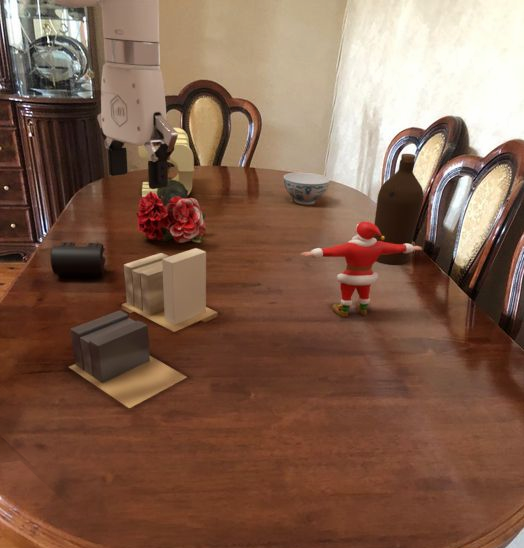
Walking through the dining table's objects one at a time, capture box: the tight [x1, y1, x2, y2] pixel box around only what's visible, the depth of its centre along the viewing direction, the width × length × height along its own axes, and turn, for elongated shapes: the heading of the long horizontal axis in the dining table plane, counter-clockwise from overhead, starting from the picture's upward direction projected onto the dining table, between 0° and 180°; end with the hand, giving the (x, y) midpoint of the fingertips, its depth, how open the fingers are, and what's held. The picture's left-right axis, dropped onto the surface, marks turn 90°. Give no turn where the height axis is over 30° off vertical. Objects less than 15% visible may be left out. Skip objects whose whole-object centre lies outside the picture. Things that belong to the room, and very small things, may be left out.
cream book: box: [162, 247, 207, 325], centre depth 95 cm, size 3×8×12 cm, turn 140°
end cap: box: [50, 241, 107, 278], centre depth 111 cm, size 10×7×7 cm
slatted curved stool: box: [137, 127, 195, 198], centre depth 169 cm, size 30×16×18 cm, turn 10°
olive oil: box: [373, 153, 424, 265], centre depth 127 cm, size 11×11×25 cm
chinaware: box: [283, 172, 331, 206], centre depth 172 cm, size 15×15×8 cm
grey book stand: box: [68, 310, 188, 409], centre depth 80 cm, size 15×11×8 cm
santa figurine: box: [300, 221, 423, 318], centre depth 100 cm, size 25×6×19 cm, turn 107°
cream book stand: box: [121, 252, 219, 333], centre depth 98 cm, size 15×11×9 cm
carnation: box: [135, 179, 207, 244], centre depth 139 cm, size 16×18×35 cm
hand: (137, 180), depth 82 cm, fingers open, 9 cm apart
